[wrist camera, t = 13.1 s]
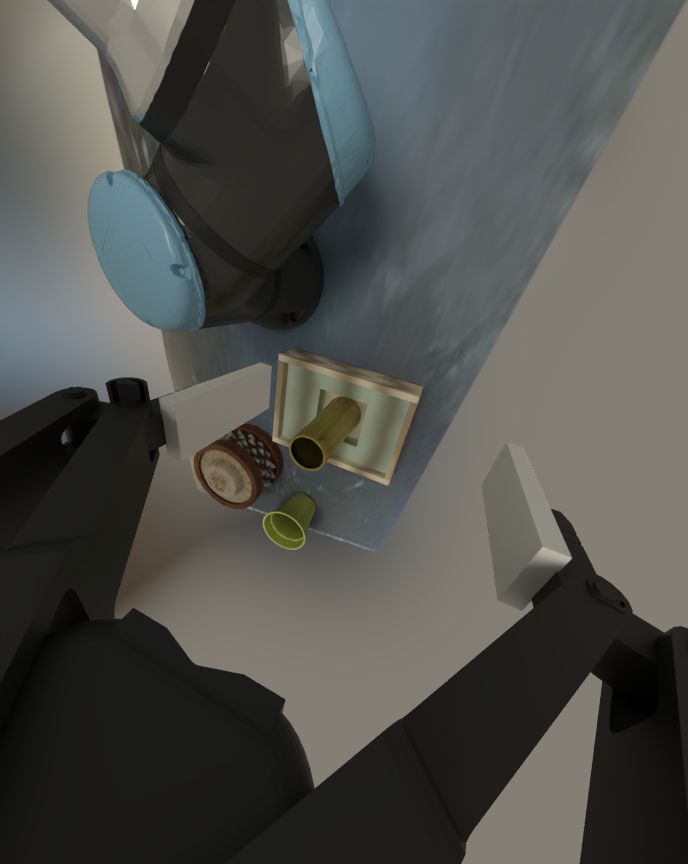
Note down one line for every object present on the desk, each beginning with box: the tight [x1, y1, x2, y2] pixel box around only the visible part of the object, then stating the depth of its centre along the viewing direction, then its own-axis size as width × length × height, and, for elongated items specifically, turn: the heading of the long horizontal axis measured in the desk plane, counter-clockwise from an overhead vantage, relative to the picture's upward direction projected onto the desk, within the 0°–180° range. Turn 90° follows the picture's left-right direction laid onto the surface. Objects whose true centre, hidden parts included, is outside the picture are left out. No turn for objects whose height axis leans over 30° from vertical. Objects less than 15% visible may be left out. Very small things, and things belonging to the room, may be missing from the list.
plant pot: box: [263, 493, 316, 550], centre depth 58 cm, size 9×9×9 cm
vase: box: [289, 396, 361, 471], centre depth 41 cm, size 6×6×14 cm
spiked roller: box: [194, 424, 283, 509], centre depth 56 cm, size 15×11×15 cm
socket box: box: [272, 348, 423, 486], centre depth 46 cm, size 22×16×5 cm
